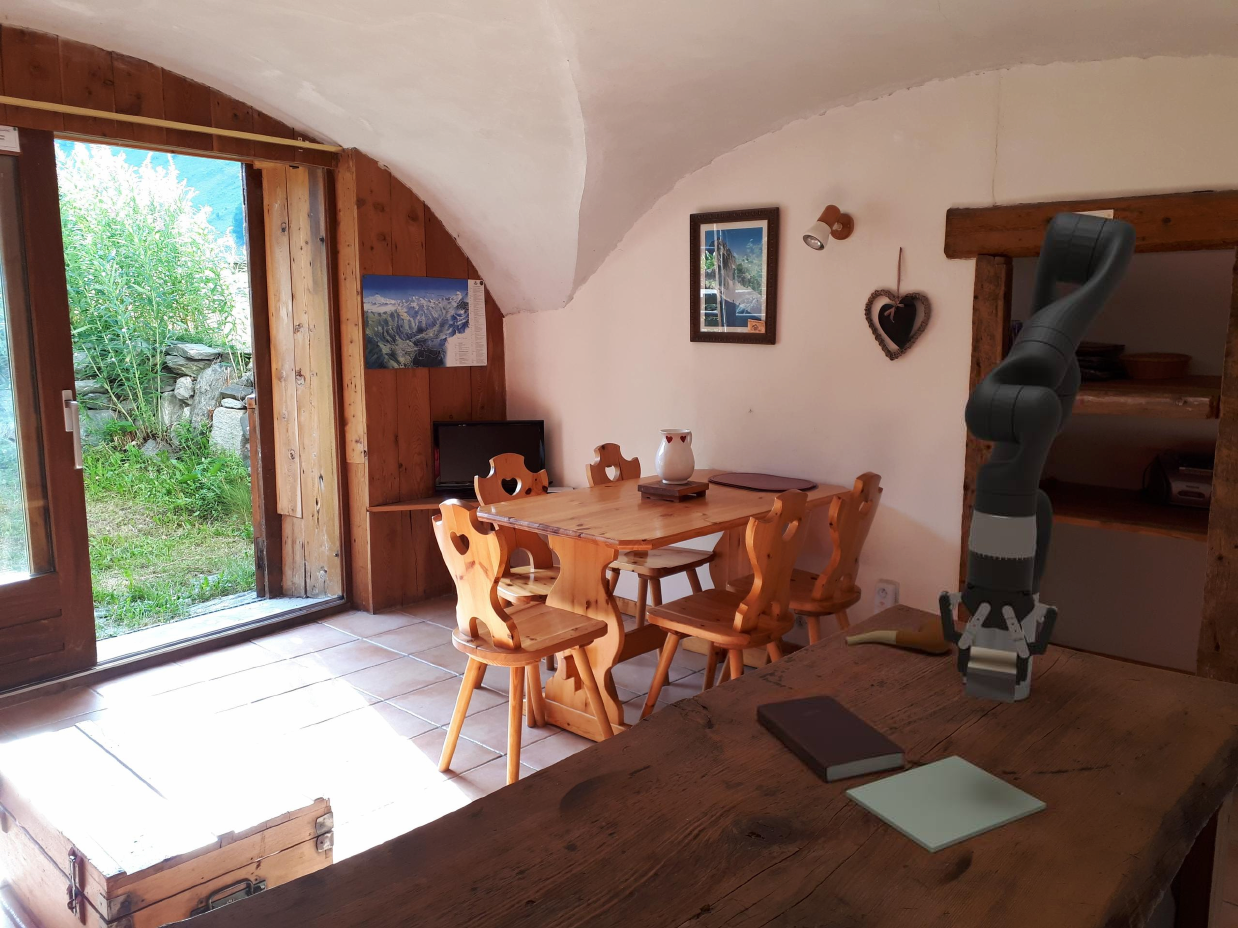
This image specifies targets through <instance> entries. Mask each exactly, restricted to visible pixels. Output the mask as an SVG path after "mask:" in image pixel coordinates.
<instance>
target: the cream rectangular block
mask: <svg viewBox="0 0 1238 928" xmlns="http://www.w3.org/2000/svg"><path fill="white" fill-rule="evenodd" d="M1016 657H1017V653H1015V652H1008V651H1001V650H994V649H987V648H980V647H973V646H972V648H971V654H970V660H969V663H968V668H967V675H966V683H965V691H964V696H966V697H973V698H978V699H986V700H989V701H990V700H991V701H995V702H996V701H998V702H1003V703H1008V704H1014V703H1015V700H1014V696H1015V684H1016Z"/></svg>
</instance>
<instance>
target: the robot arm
mask: <svg viewBox="0 0 1238 928" xmlns="http://www.w3.org/2000/svg"><path fill="white" fill-rule="evenodd" d="M1046 228H1047V229H1046V231H1045V234H1044V237H1043V239H1042V243H1041V247H1040V248H1041V249H1040V253H1039V257H1038V261H1037V262H1038V263H1037V266H1036V272H1035V277H1034V281H1033V282H1034V283H1033V289H1032V294H1031V298H1030V304H1029V309H1028V314H1027V319H1026V322H1025V323H1024V324H1023V326H1022V328H1021V329H1020V331H1019V332H1018V334H1017V336H1016V339H1015V340H1014V342H1013V344H1012V345H1011V348H1010V350H1009V352H1008V355H1007V356H1006V357H1005V358H1004V359H1003V360H1002V361H1000V362H999V363H998V364H997V365H996V366H995V367H993V369H992V370H991V371H990V372H989V373H987V375H985V376H984V378H983V379H982V380H980V381H979V383H978V384H977V385H976V387H974V389H973V390H972V392H971V393H970V395H969V398H968V399H967V401H966V405H965V410H964V421H965V426H966V428H967V430H968V432H969V433H970V434H971V435H972V436H973V437H974V438H976V439H978V440H981V441H985V442H991V443H992V442H993V446H992V450H991V452H990V455H989V458H988V461H987V462H985V463H983V464H981V465H980V466H979V468H978V470H977V473H976V477H975V478H976V479H975V492H974V493H975V494H974V500H973V504H972V508H971V515H970V530H969V536H968V554H967V556H968V557H967V566H966V567H967V568H966V579H965V580H966V581H965V586H964V588H963V589H962V592H961V591H960V592H949V591H947V590H943V591H941V592H940V594H939V597H938V606H939V614H940V621H941V622H942V629H943V637H944V640H945V641H947V642H952V644H955V645H956V647H957V648H958V652H957V666H956V669H957V672H958V673H962V674H961V675H962V676H961V677H962V683H963V684H966V675H967V668H968V663H969V660H970V654H971V648H972V646H973V647H980V648H987V649H994V650H1001V651H1008V652H1015V653H1017V657H1016V684H1015V696H1014V701H1020V700H1021V701H1022V700H1025V699H1026V698H1028V697H1029V695H1030V689H1031V688H1030V687H1031V678H1032V669H1033V668H1032V667H1033V658H1034V656H1036V655H1038V656H1043V655H1045V654H1046V652H1047V648H1048V646H1049V642H1050V640H1051V636H1052V633H1053V630H1054V628H1055V625H1056V621H1057V618H1058V607H1057V605H1056V604H1053V603H1050V604H1044V603H1042V602H1039V600H1040V599H1039V598H1040V596H1039V595H1040V588H1041V583H1042V580H1043V578H1044V576H1045V572H1046V568H1047V563H1048V555H1049V548H1050V544H1051V537H1052V531H1053V520H1054V517H1053V515H1054V514H1053V507H1052V503H1051V500H1050V498H1049V496H1048V495H1047V494H1046V492H1045V491H1043V490H1042V489H1040V488H1039V487H1040V486H1039V485H1040V481H1041V480H1040V479H1041V476H1042V472H1043V469H1044V465H1045V463H1046V459H1047V456H1048V454H1049V452H1050V448H1051V446H1052V443H1053V442H1054V439H1055V438H1056V437H1057V436H1058V435H1059V434H1060V433H1062V431H1063V429H1065V426H1067V424H1068V422H1069V420H1070V419H1071V416H1072V412H1073V410H1074V405H1075V404H1076V399H1077V396H1078V392H1079V389H1080V385H1081V381H1082V376H1081V369H1080V366H1079V365H1080V364H1079V362H1078V359H1077V355H1076V351H1077V350H1078V347H1079V345H1080V343H1081V342H1082V340H1083V338H1084V336H1085V335H1086V333H1087V332H1088V330H1089V329H1090V328H1091V326H1092V325H1093V323H1094V322H1095V320H1097V318H1098V317H1099V315H1100V313H1101V312H1102V311H1103V310H1104V308H1105V307H1106V306H1107V304H1108V302H1109V301H1110V299H1111V298H1112V296H1113V295H1114V294H1115V292H1116V290H1117V289H1118V287H1119V285H1120V284H1121V283H1122V281H1123V279H1124V278H1125V275H1126V273H1127V272H1128V269H1129V266H1130V265H1131V261H1132V259H1133V254H1134V251H1135V248H1136V242H1137V241H1136V240H1137V231H1136V228H1135V226H1134V225H1133V224H1132V223H1131V222H1128V221H1125V220H1120V219H1116V218H1110V217H1105V216H1104V217H1103V216H1097V215H1093V214H1092V215H1091V214H1087V213H1086V214H1085V213H1079V212H1073V211H1072V212H1070V211H1061V212H1058V213H1056V214H1055V215H1054V216H1053V217H1052V219H1051V220H1050V222H1049V224H1048V226H1047V227H1046ZM1061 283H1066V284H1071V285H1075V286H1079V288H1077V289H1076V290H1074V291H1072V292H1071V293H1069V294H1066V295H1065V296H1063V297H1062V298H1061V295H1060V294H1061ZM959 603H962V605H964V607H965V608H966V610H967V611H968V614H969V615H970V618H969V620H968V622H967V623H966V625H965V628H964V629H963V631H962V632H960V631H958V630H956V627H955V620H954V613H953V611H955V610H957V608H958V605H959ZM1037 621H1038V623H1040V627H1039V630H1038V632H1037V633H1038V634H1037V635H1036V631H1037V630H1036V629H1037V628H1036V627H1037Z"/></svg>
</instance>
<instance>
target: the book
mask: <svg viewBox="0 0 1238 928" xmlns="http://www.w3.org/2000/svg"><path fill="white" fill-rule="evenodd" d="M756 718H757V721H759V723H760V724H762V725H763V726H764V727H765V728H766V729H767V730H768V729H769V730H768V731H770V732H771V733H772V734H773V735H774V736H775V737H776V738H777V737H778V738H777V739H779V741H780V742H781V743H783V744H784V746H786V747H787V748H788V749H789V750H790V751H791V752H792V753H793V754H795V755H796V756H797V757H798V758H799V759H800V760H801V761H802V762H804V764H806V765H807V766H808V767H809V768H810V769H811V770H812V771H813V772H814V773H815V774H816V775H817V776H818V777H819V778H820V779H821V780H822V781H823V782H824V783H831V782H835V781H842V780H843V781H844V780H848V779H853V778H860V777H864V776H865V777H866V776H869V775H870V776H871V775H876V774H882V773H886V772H891V771H896V770H900V769H903V768H905V765H906V764H905V763H903V754H905V753H906V750H905V749H903V748H902V747H901V746H900V745H898V744H897V743H896V742H895V741H893V740H892V739H890V738H889V737H888V736H886V735H885V734H883V733H882V732H881V731H879V730H878V729H876V728H875V727H873V726H872V725H870V724H869V723H868V722H867V721H865V720H864V719H862V718H861V717H859V716H858V715H857V714H855V713H854V712H852V711H851V710H850V709H848V708H847V707H846V706H844V705H843V704H842V703H840V702H839V701H838V700H837V699H835V698H833V697H832V696H831V695H824V694H823V695H817V696H808V697H803V698H802V697H801V698H794V699H788V700H782V701H781V700H780V701H776V702H774V701H773V702H768V703H764V704H759V705H757V707H756Z"/></svg>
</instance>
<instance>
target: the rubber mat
mask: <svg viewBox="0 0 1238 928" xmlns="http://www.w3.org/2000/svg"><path fill="white" fill-rule="evenodd" d="M845 796H846V797H847V798H849V799H850V800H852V801H853V802H855V803H856V804H858V805H859V806H861V807H862V808H864V809H865V810H867V811H868V812H870V813H871V814H873V815H874V816H875V817H877V818H879V819H880V820H881V821H883V822H885V823H886V824H888V825H890V826H891V827H892V828H893V829H895V830H897V831H898V832H900V833H901V834H902V835H905V836H906V837H907V838H909V839H910V840H912V841H914V842H915V843H917V844H918V845H920V846H921V847H923V848H924V849H926V850H927V851H928V852H930V853H931V854H932V853H935V852H937V851H940V850H943V849H946V848H948V847H950V846H953V845H955V844H958V843H960V842H963V841H966V840H969V839H970V838H973V837H977V836H979V835H982V834H983V833H986V832H989V831H991V830H993V829H997V828H998V827H1002V826H1003V825H1006V824H1009V823H1011V822H1014V821H1017V820H1019V819H1022V818H1024V817H1027V816H1029V815H1032V814H1035V813H1037V812H1039V811H1042V810H1044V809H1046V808H1047V803H1045V802H1043V801H1041V800H1040V799H1037V798H1036V797H1034V796H1032V795H1031V794H1029V793H1027V792H1024V791H1023V790H1021V789H1019V788H1017V787H1015V786H1014V785H1012V784H1010V783H1008V782H1006V781H1004V780H1003V779H1000V778H999V777H997V776H996V775H995V776H994V775H993V774H991V773H989V772H987V771H985V770H984V769H982V768H980V767H978V766H976V765H974V764H972V763H970V762H969V761H967V760H966V759H963V758H962V757H960V756H957V755H955V754H954V755H953V756H949V757H947V758H946V757H945V758H943V759H940V760H938V761H934V762H932V763H928V764H926V765H922V766H919V767H915V768H913V769H910V770H907V771H904V772H900V773H898V774H895V775H891V776H888V777H886V778H882V779H879V780H877V781H876V780H875V781H873V782H870V783H866V784H864V785H861V786H858V787H855V788H850V789H848V790H846V791H845Z"/></svg>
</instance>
